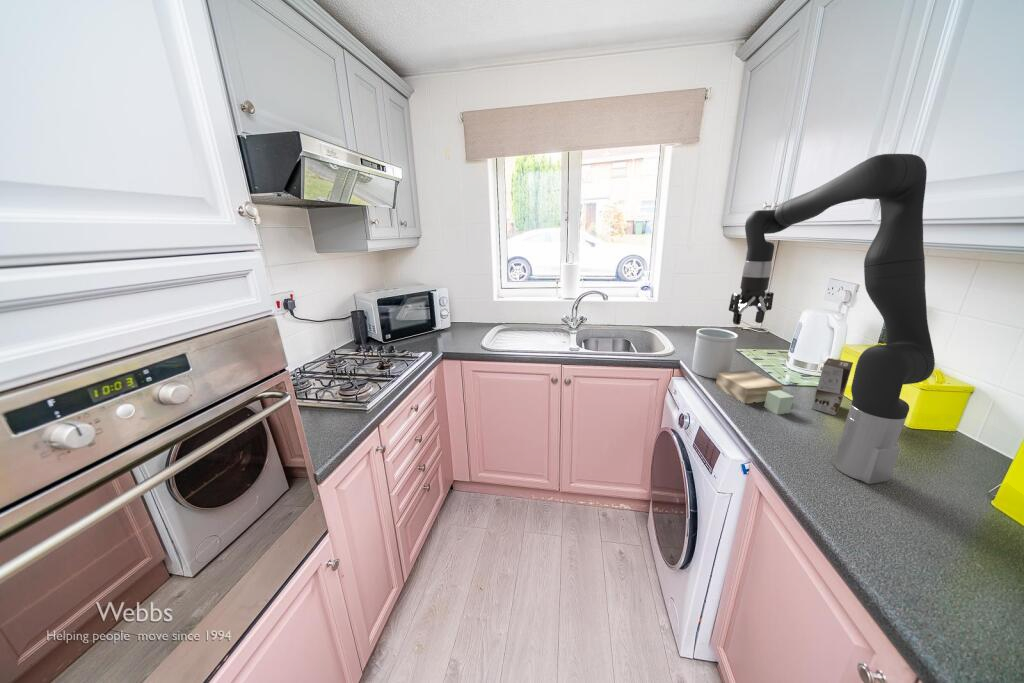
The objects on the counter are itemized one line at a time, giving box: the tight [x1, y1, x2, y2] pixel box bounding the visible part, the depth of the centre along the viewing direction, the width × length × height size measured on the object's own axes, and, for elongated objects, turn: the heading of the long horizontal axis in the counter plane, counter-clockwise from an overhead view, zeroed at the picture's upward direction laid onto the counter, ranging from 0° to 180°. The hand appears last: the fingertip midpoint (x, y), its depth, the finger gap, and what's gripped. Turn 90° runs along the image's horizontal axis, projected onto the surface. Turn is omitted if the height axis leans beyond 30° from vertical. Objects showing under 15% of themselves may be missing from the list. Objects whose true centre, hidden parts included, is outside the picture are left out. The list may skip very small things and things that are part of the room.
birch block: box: [715, 369, 783, 404], centre depth 128 cm, size 14×14×6 cm
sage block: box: [763, 390, 795, 415], centre depth 116 cm, size 5×5×6 cm
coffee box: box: [811, 357, 854, 416], centre depth 115 cm, size 9×6×16 cm
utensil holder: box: [691, 327, 739, 379], centre depth 145 cm, size 15×15×18 cm
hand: (747, 323), depth 119 cm, fingers open, 8 cm apart
